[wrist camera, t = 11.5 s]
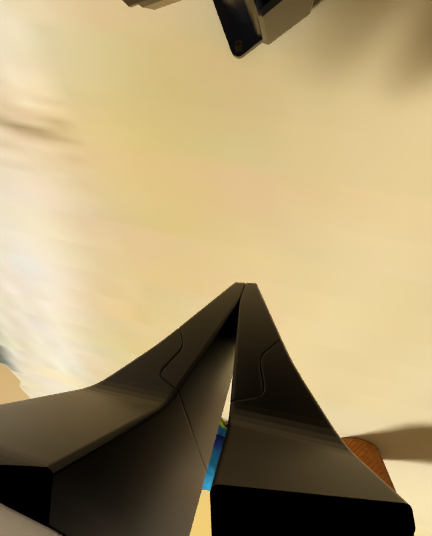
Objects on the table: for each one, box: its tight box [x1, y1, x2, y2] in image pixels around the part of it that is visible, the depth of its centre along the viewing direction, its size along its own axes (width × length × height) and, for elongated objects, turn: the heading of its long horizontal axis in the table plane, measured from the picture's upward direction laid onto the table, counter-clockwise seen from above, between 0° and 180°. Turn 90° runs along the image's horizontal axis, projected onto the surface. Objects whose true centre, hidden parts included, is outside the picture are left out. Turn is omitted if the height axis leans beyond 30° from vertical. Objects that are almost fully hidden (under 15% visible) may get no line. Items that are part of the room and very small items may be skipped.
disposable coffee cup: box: [341, 438, 414, 536], centre depth 29 cm, size 10×10×12 cm
